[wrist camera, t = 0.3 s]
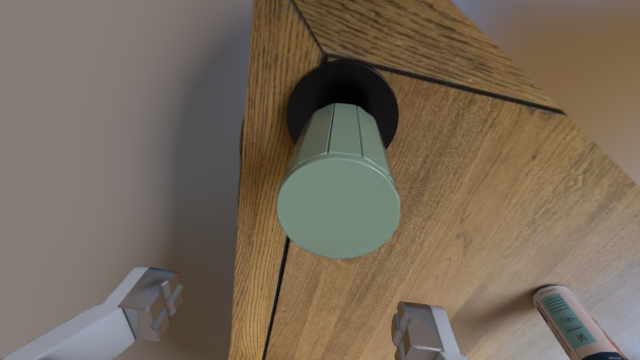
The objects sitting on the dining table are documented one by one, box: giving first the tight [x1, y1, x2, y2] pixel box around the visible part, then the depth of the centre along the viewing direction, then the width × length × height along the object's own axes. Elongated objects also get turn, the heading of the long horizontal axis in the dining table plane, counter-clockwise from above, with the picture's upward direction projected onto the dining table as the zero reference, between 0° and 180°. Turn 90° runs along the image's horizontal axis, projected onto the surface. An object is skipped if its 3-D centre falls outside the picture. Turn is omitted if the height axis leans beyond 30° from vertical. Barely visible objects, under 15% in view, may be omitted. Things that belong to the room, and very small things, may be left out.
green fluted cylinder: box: [276, 103, 400, 259], centre depth 18 cm, size 6×6×10 cm
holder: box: [287, 60, 399, 150], centre depth 22 cm, size 11×11×16 cm
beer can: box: [533, 286, 628, 360], centre depth 34 cm, size 5×5×12 cm
